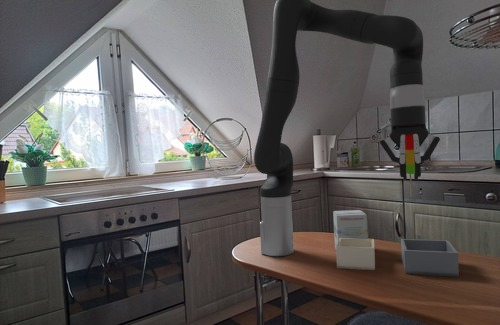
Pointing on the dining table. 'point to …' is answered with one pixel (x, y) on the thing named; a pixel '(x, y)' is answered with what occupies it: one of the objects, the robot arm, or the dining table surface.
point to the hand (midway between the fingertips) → (410, 179)
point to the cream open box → (355, 253)
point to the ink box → (350, 225)
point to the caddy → (429, 257)
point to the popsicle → (409, 157)
